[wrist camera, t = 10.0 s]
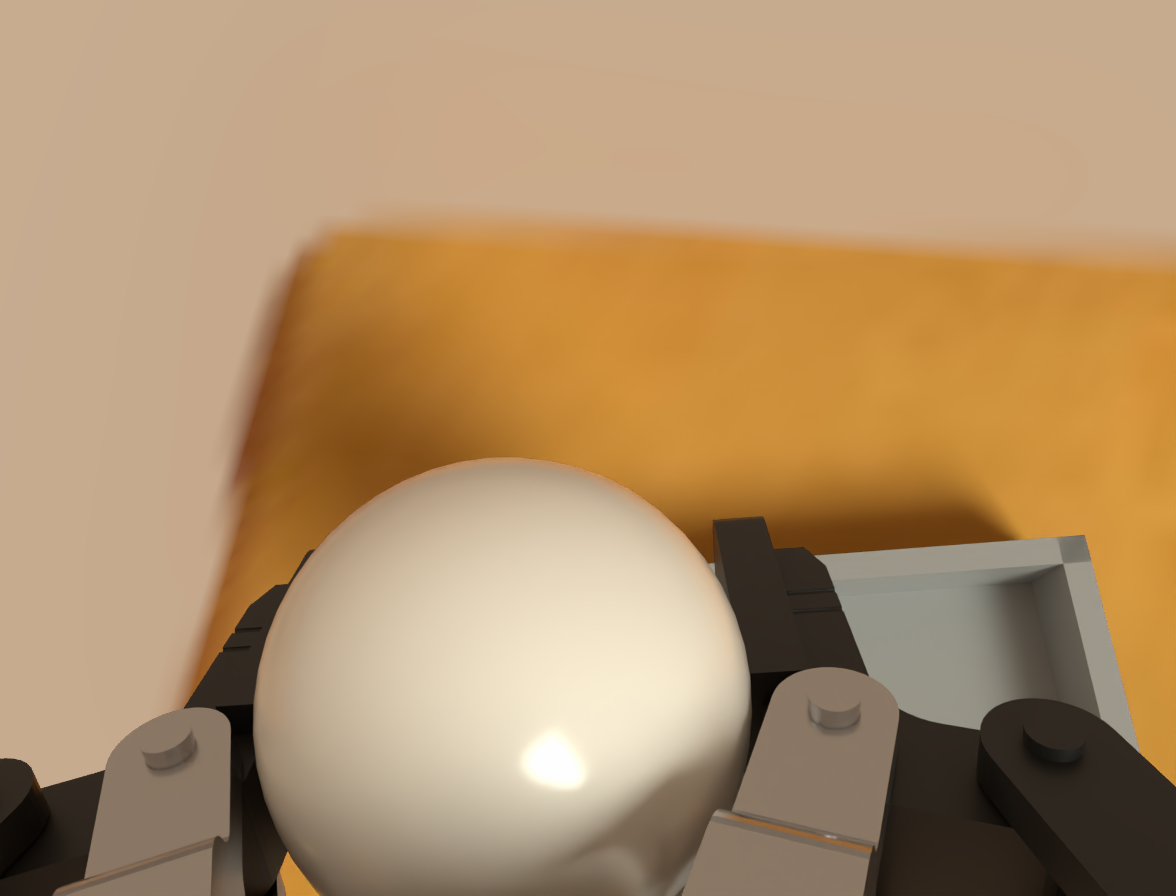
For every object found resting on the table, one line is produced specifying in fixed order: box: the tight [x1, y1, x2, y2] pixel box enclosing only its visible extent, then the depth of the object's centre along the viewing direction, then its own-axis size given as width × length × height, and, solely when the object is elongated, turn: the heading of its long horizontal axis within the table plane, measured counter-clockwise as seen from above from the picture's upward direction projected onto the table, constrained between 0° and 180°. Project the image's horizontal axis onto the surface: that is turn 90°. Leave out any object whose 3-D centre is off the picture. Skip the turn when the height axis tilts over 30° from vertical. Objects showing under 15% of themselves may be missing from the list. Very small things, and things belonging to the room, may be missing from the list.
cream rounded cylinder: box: [253, 457, 752, 896], centre depth 12 cm, size 5×5×10 cm
